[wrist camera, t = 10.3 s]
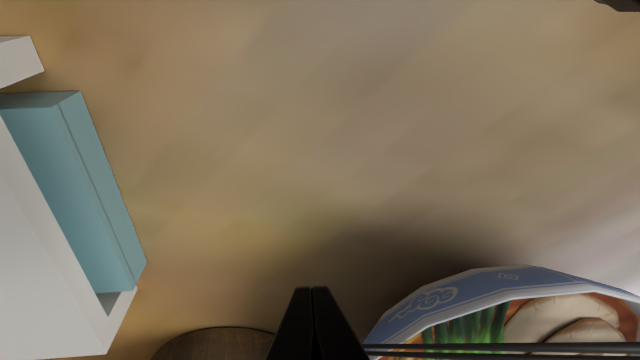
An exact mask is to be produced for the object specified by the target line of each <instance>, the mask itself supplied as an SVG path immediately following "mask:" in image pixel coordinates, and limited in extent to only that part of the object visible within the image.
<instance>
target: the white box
mask: <svg viewBox="0 0 640 360" xmlns="http://www.w3.org/2000/svg"><path fill="white" fill-rule="evenodd" d="M43 71H44V68H43V66H42V64H41V61H40V59H39V57H38V54H37V52H36V50H35V47H34V45H33V43H32V40H31V38H30V36H0V89H1V88H3V87H6V86H8V85H11V84H13V83H16V82H18V81H21V80H23V79H26V78H28V77H31V76H33V75H36V74H38V73H41V72H43ZM137 289H138V288H137V285H135V288H134V290H133V291H123V292H109V293H95V292H94V290H93V289H92V287H91V285H90V283H89V281H88V279H87V277H86V275H85V273H84V272H83V270H82V268H81V266H80V264H79V262H78V260H77V258H76V257H75V255H74V253H73V251H72V249H71V247H70V245H69V243H68V242H67V240H66V238H65V236H64V234H63V232H62V230H61V228H60V226H59V225H58V223H57V221H56V219H55V217H54V215H53V213H52V211H51V210H50V208H49V206H48V204H47V202H46V200H45V198H44V196H43V195H42V193H41V191H40V189H39V187H38V185H37V183H36V181H35V179H34V178H33V176H32V174H31V172H30V170H29V168H28V166H27V164H26V163H25V161H24V159H23V157H22V155H21V153H20V151H19V149H18V147H17V146H16V144H15V142H14V140H13V138H12V136H11V134H10V132H9V131H8V129H7V127H6V125H5V123H4V121H3V119H2V117H1V116H0V360H38V359H52V358H65V357H78V356H91V355H105V354H107V352H108V350H109V348H110V345H111V343H112V341H113V339H114V337H115V335H116V333H117V331H118V329H119V327H120V325H121V323H122V321H123V318H124V316H125V314H126V312H127V310H128V308H129V306H130V304H131V302H132V300H133V298H134V296H135V294H136V291H137Z"/></svg>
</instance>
